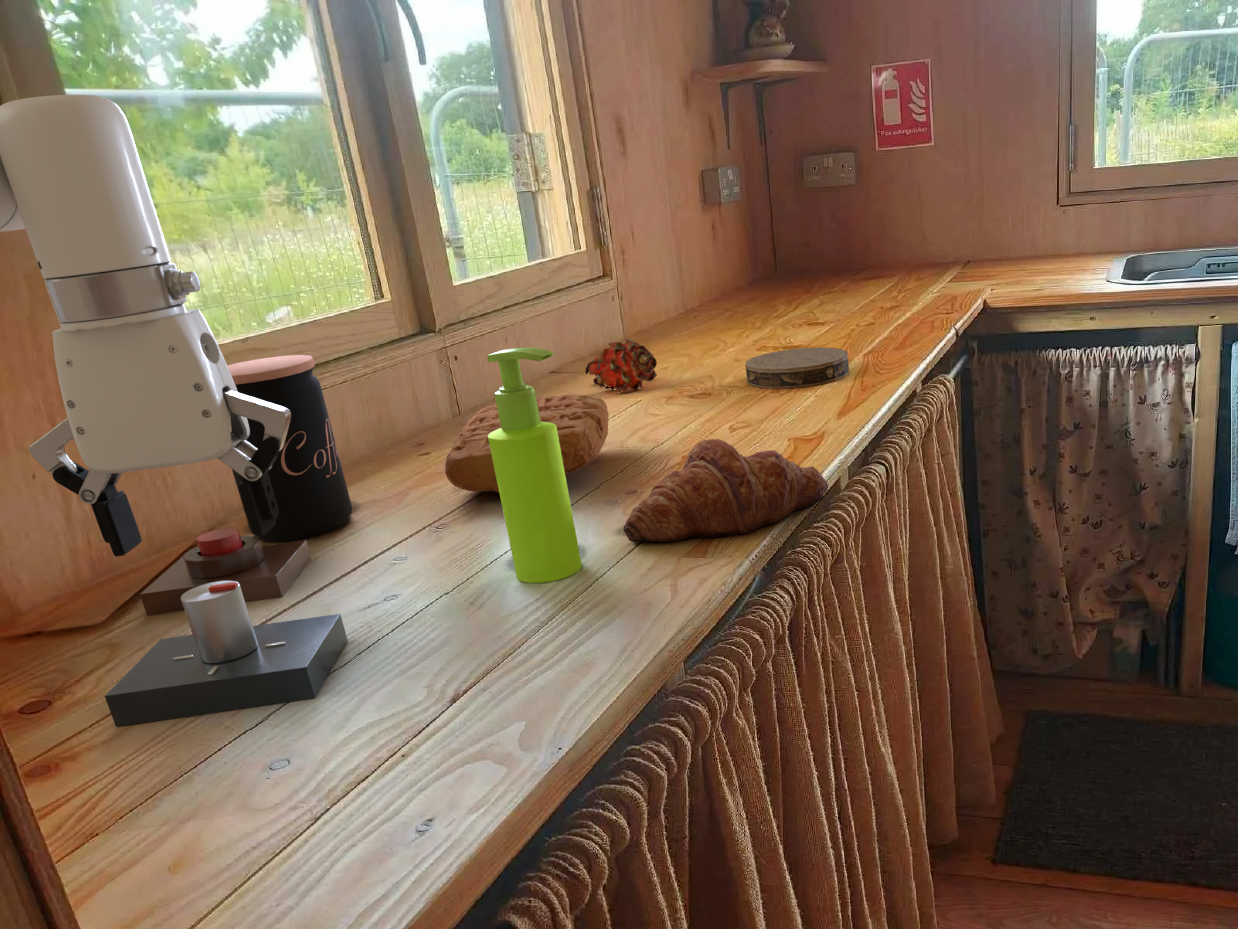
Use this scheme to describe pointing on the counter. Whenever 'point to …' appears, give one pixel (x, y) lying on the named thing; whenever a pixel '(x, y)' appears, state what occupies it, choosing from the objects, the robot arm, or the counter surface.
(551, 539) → the soap dispenser
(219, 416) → the robot arm
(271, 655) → the panel
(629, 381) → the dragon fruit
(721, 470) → the pastry
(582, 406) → the bread loaf
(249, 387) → the coffee jar
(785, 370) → the tin can
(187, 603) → the tap knob
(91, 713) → the counter surface
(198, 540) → the button
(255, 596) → the block
